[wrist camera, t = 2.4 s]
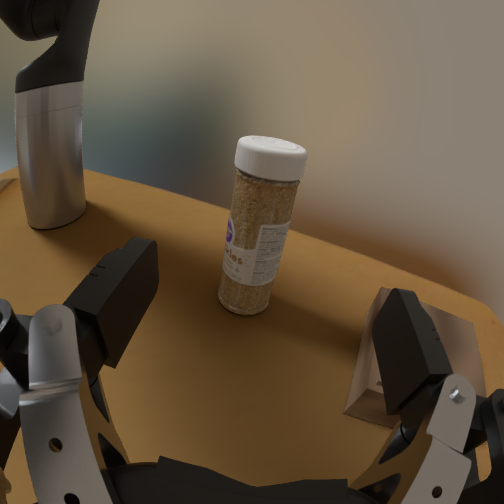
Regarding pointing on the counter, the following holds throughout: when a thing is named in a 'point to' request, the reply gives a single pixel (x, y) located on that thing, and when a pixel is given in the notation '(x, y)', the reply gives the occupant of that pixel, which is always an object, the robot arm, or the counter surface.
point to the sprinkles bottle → (258, 220)
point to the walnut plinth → (367, 371)
